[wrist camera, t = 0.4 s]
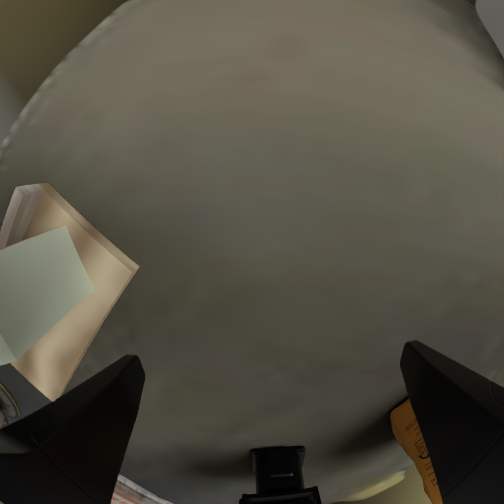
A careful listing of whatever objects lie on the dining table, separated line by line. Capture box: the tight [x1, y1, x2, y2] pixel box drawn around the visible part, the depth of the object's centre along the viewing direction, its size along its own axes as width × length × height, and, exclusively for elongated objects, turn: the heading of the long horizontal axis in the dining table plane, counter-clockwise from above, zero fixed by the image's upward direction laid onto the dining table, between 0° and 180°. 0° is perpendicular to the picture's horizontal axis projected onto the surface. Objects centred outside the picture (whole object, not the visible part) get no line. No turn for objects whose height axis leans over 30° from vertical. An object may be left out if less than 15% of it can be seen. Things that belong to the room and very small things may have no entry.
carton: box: [0, 225, 95, 365], centre depth 16 cm, size 6×6×11 cm
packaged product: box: [111, 474, 172, 504], centre depth 32 cm, size 18×5×10 cm
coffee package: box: [390, 398, 443, 504], centre depth 17 cm, size 10×12×22 cm
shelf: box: [0, 183, 139, 401], centre depth 22 cm, size 12×24×4 cm, turn 140°
